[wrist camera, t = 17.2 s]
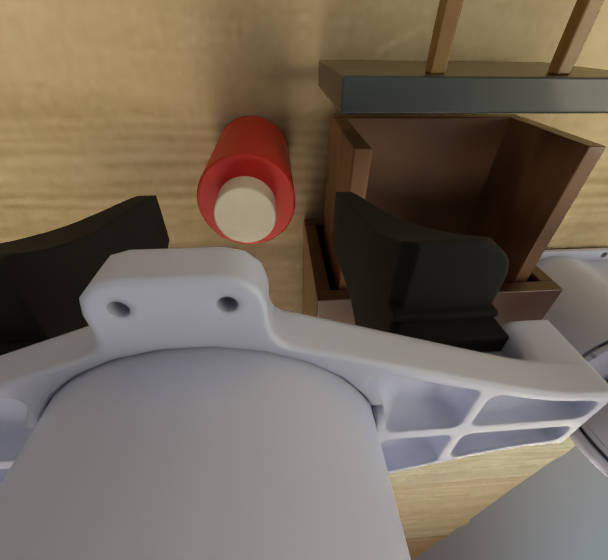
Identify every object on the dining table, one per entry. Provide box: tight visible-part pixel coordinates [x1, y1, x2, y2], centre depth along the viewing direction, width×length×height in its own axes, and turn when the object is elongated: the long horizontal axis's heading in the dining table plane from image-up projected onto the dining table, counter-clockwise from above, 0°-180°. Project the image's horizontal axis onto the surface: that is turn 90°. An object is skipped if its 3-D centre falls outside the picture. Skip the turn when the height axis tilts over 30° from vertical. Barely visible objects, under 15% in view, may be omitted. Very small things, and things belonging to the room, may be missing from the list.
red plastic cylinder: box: [197, 116, 295, 244], centre depth 16 cm, size 4×4×8 cm
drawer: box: [318, 0, 608, 290], centre depth 16 cm, size 16×12×7 cm
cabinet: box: [302, 220, 563, 327], centre depth 24 cm, size 13×14×9 cm
